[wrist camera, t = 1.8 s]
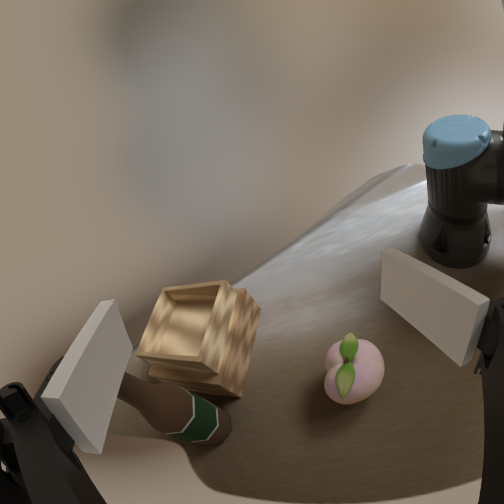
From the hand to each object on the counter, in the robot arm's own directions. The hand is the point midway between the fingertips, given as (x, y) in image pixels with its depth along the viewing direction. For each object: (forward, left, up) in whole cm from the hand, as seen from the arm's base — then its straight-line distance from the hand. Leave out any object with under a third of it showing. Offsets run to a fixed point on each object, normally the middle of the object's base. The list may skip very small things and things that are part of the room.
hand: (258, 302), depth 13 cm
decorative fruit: (-6, 0, -32) cm, 33 cm away
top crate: (-12, -27, -25) cm, 39 cm away
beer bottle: (+3, -23, -32) cm, 40 cm away
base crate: (-12, -27, -32) cm, 43 cm away
